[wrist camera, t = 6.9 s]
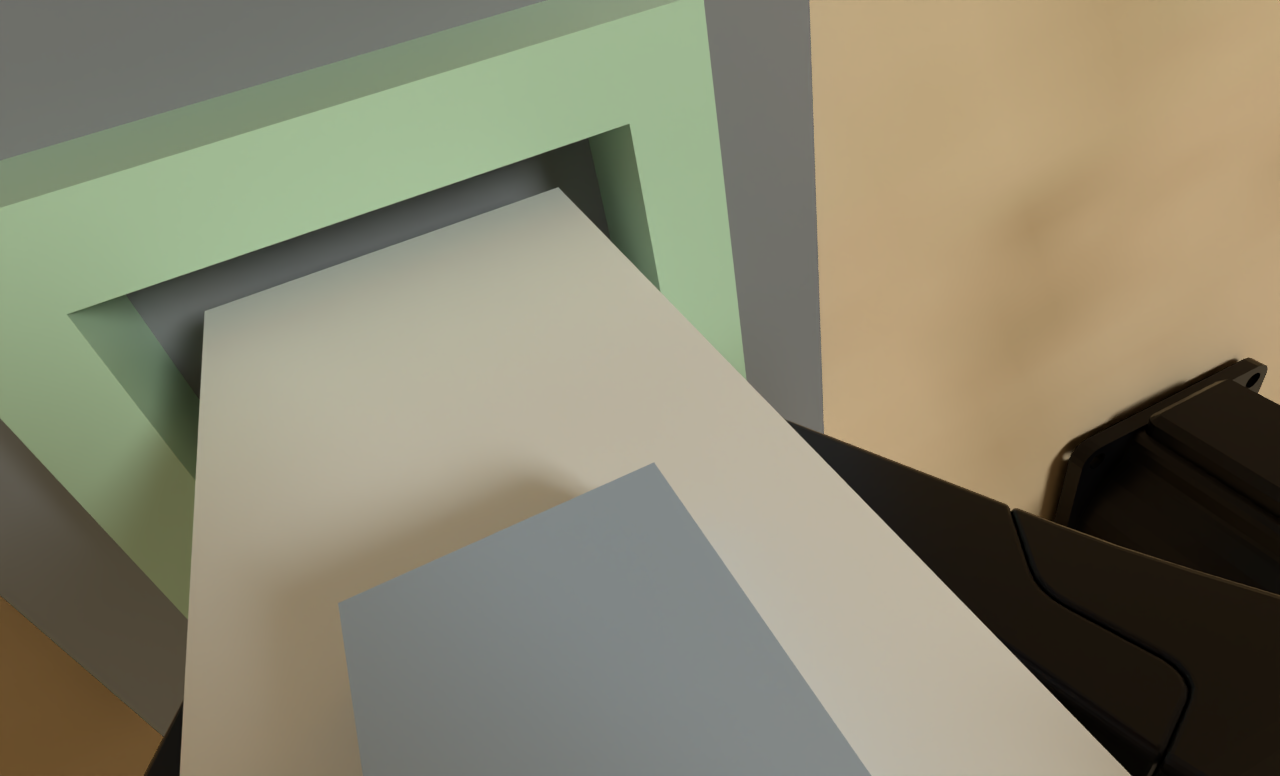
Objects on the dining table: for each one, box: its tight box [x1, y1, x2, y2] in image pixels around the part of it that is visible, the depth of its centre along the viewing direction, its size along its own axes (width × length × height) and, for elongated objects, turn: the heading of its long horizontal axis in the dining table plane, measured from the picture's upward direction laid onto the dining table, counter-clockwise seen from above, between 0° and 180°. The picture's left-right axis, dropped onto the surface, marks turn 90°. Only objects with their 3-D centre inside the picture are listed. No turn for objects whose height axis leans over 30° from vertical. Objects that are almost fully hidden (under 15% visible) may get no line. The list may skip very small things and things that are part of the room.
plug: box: [180, 187, 1131, 776], centre depth 7 cm, size 5×4×8 cm
